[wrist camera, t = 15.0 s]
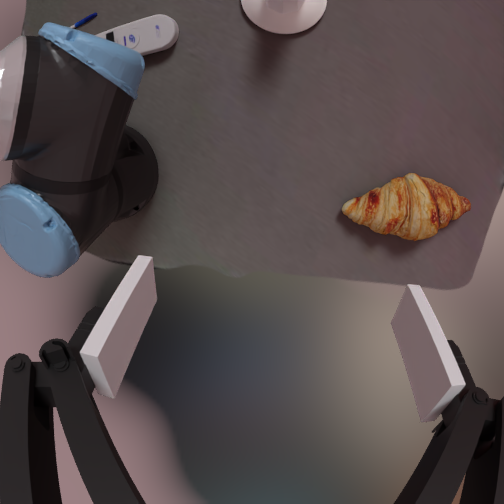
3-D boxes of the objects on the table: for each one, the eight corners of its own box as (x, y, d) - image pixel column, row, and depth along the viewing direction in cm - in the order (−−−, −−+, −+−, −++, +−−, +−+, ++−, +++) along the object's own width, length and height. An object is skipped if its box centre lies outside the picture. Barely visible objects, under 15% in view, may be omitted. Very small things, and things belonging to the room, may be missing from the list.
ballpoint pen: (97, 11, 33) (93, 10, 32) (98, 15, 33) (95, 14, 33) (47, 43, 35) (43, 43, 34) (48, 47, 36) (45, 47, 35)
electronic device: (159, 38, 28) (52, 77, 30) (182, 46, 37) (90, 73, 38) (153, -2, 25) (48, 40, 27) (177, 13, 34) (85, 43, 36)
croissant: (337, 214, 51) (344, 256, 46) (338, 169, 42) (348, 215, 38) (454, 206, 47) (468, 245, 43) (470, 164, 38) (491, 206, 34)
